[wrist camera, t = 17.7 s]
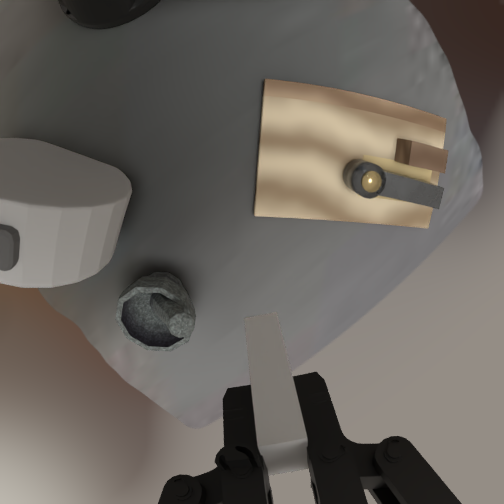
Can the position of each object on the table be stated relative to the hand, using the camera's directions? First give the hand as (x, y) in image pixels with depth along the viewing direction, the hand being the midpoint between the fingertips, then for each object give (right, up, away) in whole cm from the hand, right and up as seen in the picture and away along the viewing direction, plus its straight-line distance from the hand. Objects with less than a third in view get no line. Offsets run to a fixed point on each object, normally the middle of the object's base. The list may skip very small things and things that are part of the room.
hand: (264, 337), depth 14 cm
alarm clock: (-24, +13, +19) cm, 33 cm away
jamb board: (+13, +16, +21) cm, 29 cm away
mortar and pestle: (-12, -1, +26) cm, 29 cm away
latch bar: (+17, +13, +21) cm, 29 cm away
